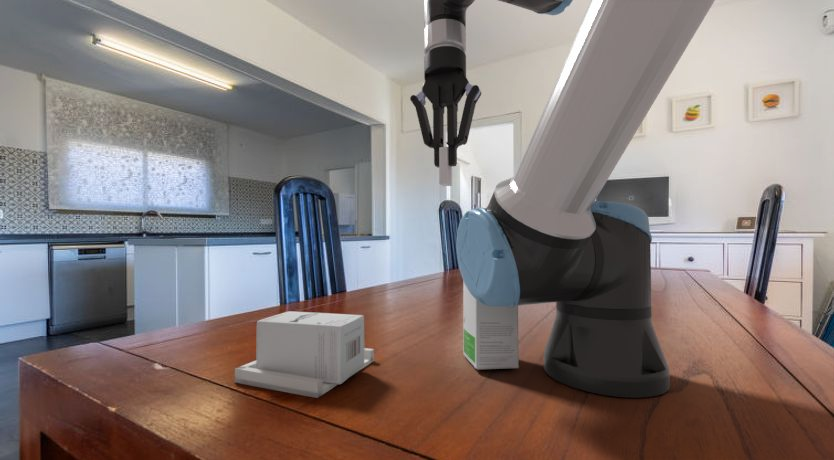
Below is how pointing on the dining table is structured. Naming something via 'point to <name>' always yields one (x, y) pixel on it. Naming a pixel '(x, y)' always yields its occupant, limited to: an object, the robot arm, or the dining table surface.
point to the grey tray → (288, 379)
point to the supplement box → (311, 345)
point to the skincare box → (489, 334)
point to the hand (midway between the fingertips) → (445, 184)
